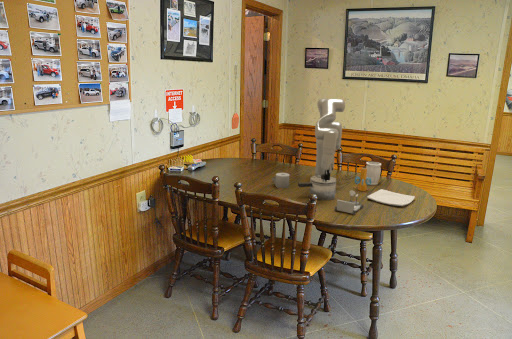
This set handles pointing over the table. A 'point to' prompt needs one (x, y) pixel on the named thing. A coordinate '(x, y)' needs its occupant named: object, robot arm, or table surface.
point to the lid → (322, 179)
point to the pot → (320, 189)
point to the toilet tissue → (281, 180)
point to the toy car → (349, 204)
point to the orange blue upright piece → (363, 180)
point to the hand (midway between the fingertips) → (326, 179)
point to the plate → (391, 198)
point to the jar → (373, 172)
